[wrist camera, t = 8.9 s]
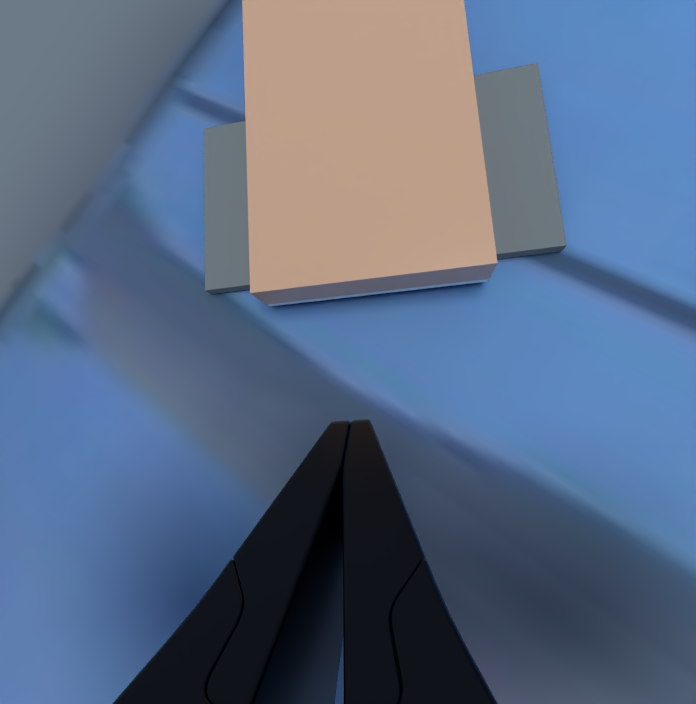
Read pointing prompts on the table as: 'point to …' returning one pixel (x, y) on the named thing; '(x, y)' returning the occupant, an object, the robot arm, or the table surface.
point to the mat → (500, 163)
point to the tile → (362, 149)
